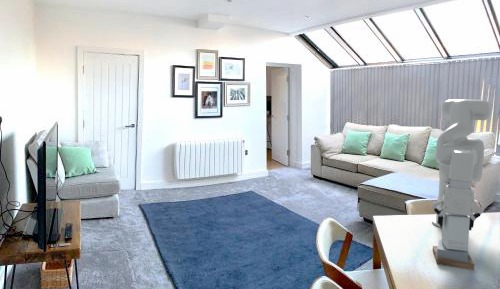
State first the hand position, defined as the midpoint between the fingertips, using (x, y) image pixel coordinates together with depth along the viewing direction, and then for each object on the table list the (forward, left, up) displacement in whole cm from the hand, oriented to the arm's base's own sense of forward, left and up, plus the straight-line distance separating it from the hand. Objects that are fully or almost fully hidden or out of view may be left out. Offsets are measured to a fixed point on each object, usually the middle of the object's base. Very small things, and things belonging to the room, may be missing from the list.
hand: (454, 227), depth 138 cm
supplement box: (0, 0, -8) cm, 8 cm away
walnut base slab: (0, 0, -14) cm, 14 cm away
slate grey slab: (0, 0, -11) cm, 11 cm away
